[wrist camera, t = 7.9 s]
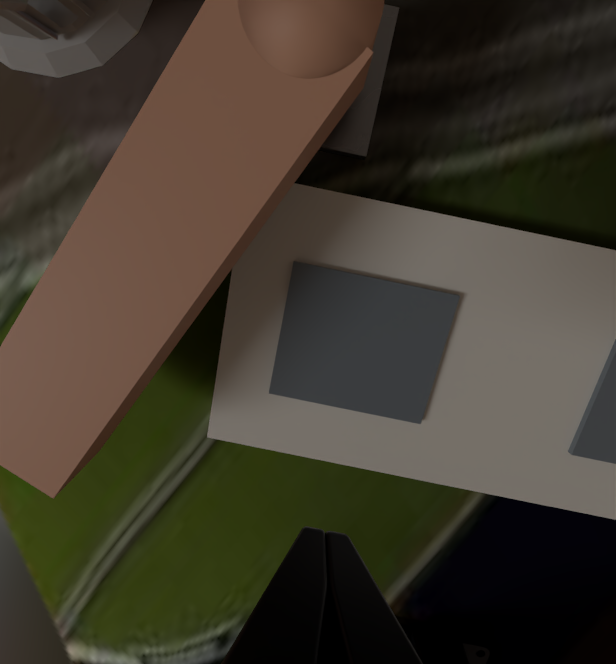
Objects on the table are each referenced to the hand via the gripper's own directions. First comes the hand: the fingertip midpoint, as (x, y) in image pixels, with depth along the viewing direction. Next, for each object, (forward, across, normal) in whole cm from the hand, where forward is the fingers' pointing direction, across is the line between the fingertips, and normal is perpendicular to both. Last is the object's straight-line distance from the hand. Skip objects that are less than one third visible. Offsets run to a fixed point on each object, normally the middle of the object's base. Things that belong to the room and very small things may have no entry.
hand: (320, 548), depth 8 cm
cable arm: (+8, +6, -4) cm, 11 cm away
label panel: (+12, -8, -1) cm, 15 cm away
